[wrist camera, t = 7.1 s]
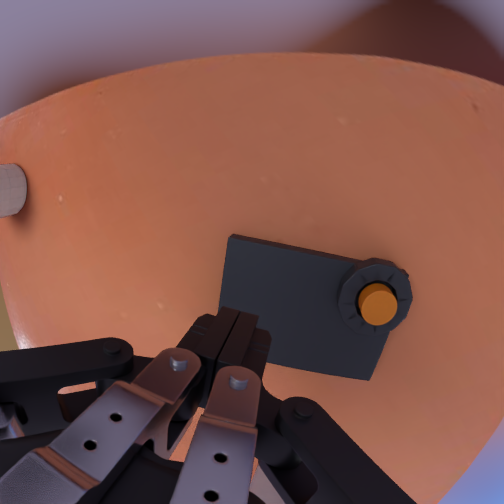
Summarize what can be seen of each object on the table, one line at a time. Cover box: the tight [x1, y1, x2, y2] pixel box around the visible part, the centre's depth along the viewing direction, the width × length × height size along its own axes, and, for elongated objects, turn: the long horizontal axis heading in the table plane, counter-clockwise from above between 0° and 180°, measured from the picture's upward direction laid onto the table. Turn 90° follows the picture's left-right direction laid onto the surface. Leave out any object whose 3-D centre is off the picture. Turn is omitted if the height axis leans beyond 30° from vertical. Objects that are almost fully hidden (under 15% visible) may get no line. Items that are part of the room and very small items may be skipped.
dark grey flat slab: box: [218, 234, 413, 381], centre depth 23 cm, size 11×14×3 cm
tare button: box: [358, 283, 397, 325], centre depth 20 cm, size 3×3×2 cm
